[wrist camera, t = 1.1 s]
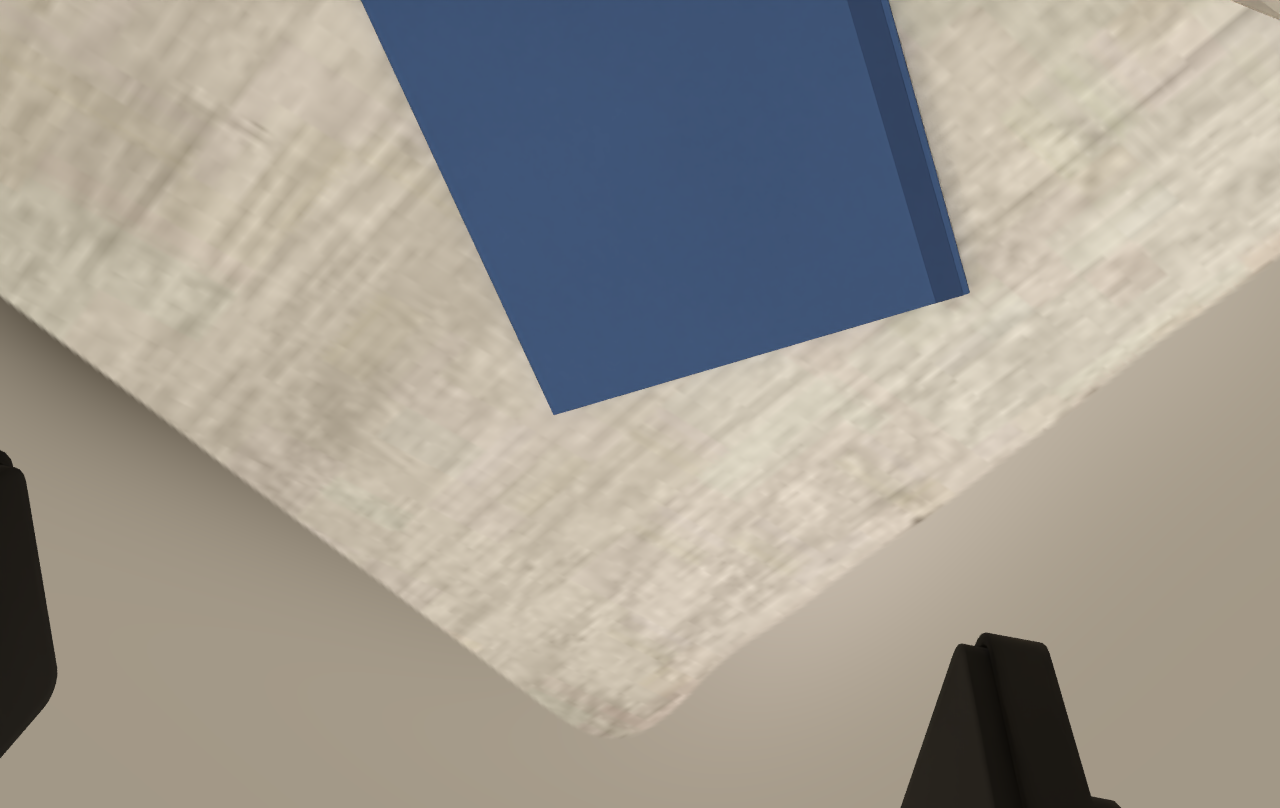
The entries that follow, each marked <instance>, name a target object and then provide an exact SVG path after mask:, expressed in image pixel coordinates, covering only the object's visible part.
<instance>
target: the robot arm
mask: <svg viewBox="0 0 1280 808" xmlns="http://www.w3.org/2000/svg"><path fill="white" fill-rule="evenodd" d="M56 679H57V665H56V658H55V652H54V646H53V640H52V634H51V629H50V622H49V616H48V611H47V605H46V598H45V592H44V586H43V580H42V574H41V569H40V562H39V557H38V550H37V545H36V539H35V533H34V526H33V520H32V514H31V508H30V502H29V496H28V490H27V484H26V480H25V477H24V474H23V473H22V472H21V470H20V469H17V468H15V467H13V464H12V461H11V459H10V458H9V457H8V455H7V454H6V453H5V452H3V451H1V450H0V758H1V757H2V756H3V754H4V753H5V752H6V751H7V750H8V749H9V748H10V746H11V745H12V744H13V743H14V742H15V741H16V739H17V738H18V737H19V736H20V735H21V734H22V732H23V731H24V730H25V729H26V728H27V727H28V725H29V724H30V723H31V722H32V721H33V720H34V719H35V717H36V716H37V715H38V714H39V713H40V712H41V710H42V709H43V708H44V707H45V705H46V704H47V703H48V701H49V699H50V697H51V695H52V693H53V690H54V688H55V684H56ZM901 808H1121V807H1120V806H1119V805H1118V804H1117V803H1116V802H1115V801H1112V800H1107V799H1102V798H1097V797H1091V795H1090V791H1089V788H1088V784H1087V781H1086V777H1085V774H1084V770H1083V767H1082V764H1081V760H1080V757H1079V753H1078V750H1077V746H1076V743H1075V740H1074V736H1073V733H1072V729H1071V726H1070V722H1069V719H1068V715H1067V712H1066V709H1065V705H1064V702H1063V698H1062V694H1061V691H1060V688H1059V684H1058V681H1057V677H1056V674H1055V670H1054V667H1053V663H1052V660H1051V657H1050V653H1049V651H1048V649H1047V647H1046V646H1045V645H1044V644H1043V643H1040V642H1034V641H1029V640H1023V639H1018V638H1012V637H1007V636H1002V635H997V634H991V633H983V634H981V635H980V637H979V638H978V640H977V642H976V644H975V646H972V645H966V644H959V645H958V646H957V647H956V649H955V651H954V653H953V656H952V659H951V662H950V665H949V668H948V671H947V674H946V677H945V680H944V682H943V685H942V689H941V691H940V694H939V697H938V700H937V703H936V706H935V709H934V712H933V715H932V718H931V721H930V724H929V726H928V729H927V733H926V735H925V738H924V741H923V744H922V747H921V750H920V753H919V756H918V758H917V761H916V764H915V767H914V770H913V773H912V776H911V779H910V782H909V785H908V788H907V791H906V794H905V797H904V799H903V803H902V806H901Z"/></svg>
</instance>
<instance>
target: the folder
mask: <svg viewBox="0 0 1280 808" xmlns="http://www.w3.org/2000/svg"><path fill="white" fill-rule="evenodd" d="M361 1H362V3H363V6H364V8H365V10H366V12H367V14H368V16H369V18H370V21H371V23H372V25H373V27H374V29H375V31H376V34H377V36H378V38H379V40H380V42H381V44H382V46H383V49H384V51H385V53H386V55H387V57H388V59H389V62H390V64H391V66H392V68H393V70H394V72H395V74H396V77H397V79H398V81H399V83H400V85H401V87H402V89H403V92H404V94H405V96H406V98H407V100H408V102H409V105H410V107H411V109H412V111H413V113H414V115H415V117H416V120H417V122H418V124H419V126H420V128H421V130H422V133H423V135H424V137H425V139H426V141H427V143H428V145H429V148H430V150H431V152H432V154H433V156H434V158H435V161H436V163H437V165H438V167H439V169H440V171H441V173H442V176H443V178H444V180H445V182H446V184H447V186H448V188H449V191H450V193H451V195H452V197H453V199H454V201H455V204H456V206H457V208H458V210H459V212H460V214H461V216H462V219H463V221H464V223H465V225H466V227H467V229H468V232H469V234H470V236H471V238H472V240H473V242H474V244H475V247H476V249H477V251H478V253H479V255H480V257H481V260H482V262H483V264H484V266H485V268H486V270H487V272H488V275H489V277H490V279H491V281H492V283H493V285H494V287H495V290H496V292H497V294H498V296H499V298H500V300H501V303H502V305H503V307H504V309H505V311H506V313H507V315H508V318H509V320H510V322H511V324H512V326H513V328H514V331H515V333H516V335H517V337H518V339H519V341H520V343H521V346H522V348H523V350H524V352H525V354H526V356H527V358H528V361H529V363H530V365H531V367H532V369H533V371H534V374H535V376H536V378H537V380H538V382H539V384H540V386H541V389H542V391H543V393H544V395H545V397H546V399H547V402H548V404H549V406H550V408H551V410H552V412H553V414H554V415H556V414H559V413H563V412H566V411H570V410H573V409H576V408H580V407H583V406H587V405H590V404H594V403H597V402H600V401H604V400H607V399H611V398H614V397H617V396H621V395H624V394H628V393H631V392H634V391H638V390H641V389H645V388H648V387H651V386H655V385H658V384H662V383H665V382H669V381H672V380H675V379H679V378H682V377H686V376H689V375H692V374H696V373H699V372H703V371H706V370H709V369H713V368H716V367H720V366H723V365H726V364H730V363H733V362H737V361H740V360H743V359H747V358H750V357H754V356H757V355H761V354H764V353H767V352H771V351H774V350H778V349H781V348H784V347H788V346H791V345H795V344H798V343H801V342H805V341H808V340H812V339H815V338H818V337H822V336H825V335H829V334H832V333H836V332H839V331H842V330H846V329H849V328H853V327H856V326H859V325H863V324H866V323H870V322H873V321H876V320H880V319H883V318H887V317H890V316H893V315H897V314H900V313H904V312H907V311H910V310H914V309H917V308H921V307H924V306H928V305H931V304H934V303H938V302H942V301H945V300H949V299H952V298H955V297H959V296H962V295H965V294H968V293H969V292H970V291H969V288H968V284H967V281H966V277H965V273H964V270H963V266H962V263H961V259H960V255H959V252H958V248H957V245H956V241H955V238H954V234H953V230H952V227H951V223H950V220H949V216H948V212H947V209H946V205H945V202H944V198H943V194H942V191H941V187H940V184H939V180H938V177H937V173H936V169H935V166H934V162H933V159H932V155H931V151H930V148H929V144H928V141H927V137H926V134H925V130H924V126H923V123H922V119H921V116H920V112H919V108H918V105H917V101H916V98H915V94H914V90H913V87H912V83H911V80H910V76H909V73H908V69H907V65H906V62H905V58H904V55H903V51H902V47H901V44H900V40H899V37H898V33H897V29H896V26H895V22H894V19H893V15H892V12H891V8H890V4H889V1H888V0H361Z"/></svg>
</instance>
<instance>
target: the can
mask: <svg viewBox="0 0 1280 808" xmlns="http://www.w3.org/2000/svg"><path fill="white" fill-rule="evenodd" d="M1231 1H1234V2H1236V3H1239V4H1241V5H1243V6H1246V7H1248V8H1251V9H1253V10H1256V11H1258V12H1261V13H1263V14H1266V15H1268V16H1271V17H1273V18H1276V19H1278V20H1280V0H1231Z"/></svg>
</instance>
